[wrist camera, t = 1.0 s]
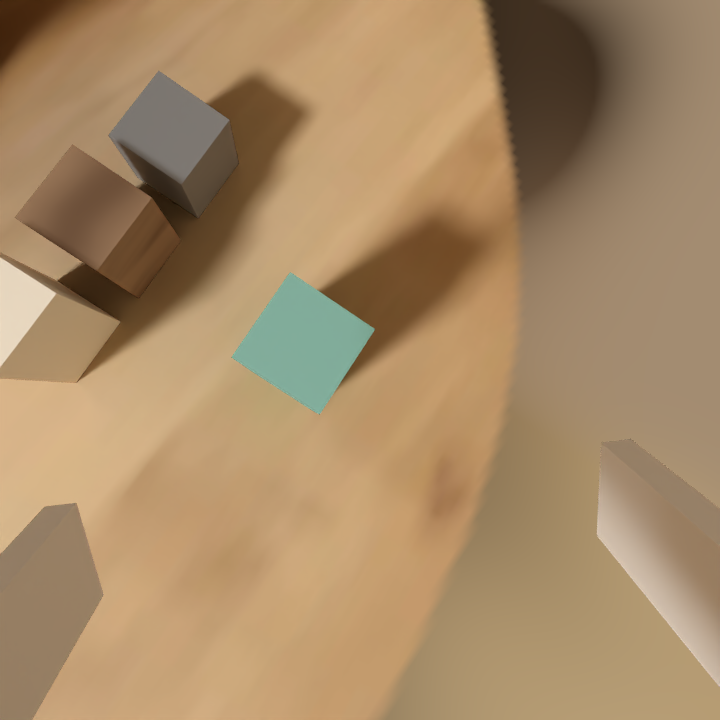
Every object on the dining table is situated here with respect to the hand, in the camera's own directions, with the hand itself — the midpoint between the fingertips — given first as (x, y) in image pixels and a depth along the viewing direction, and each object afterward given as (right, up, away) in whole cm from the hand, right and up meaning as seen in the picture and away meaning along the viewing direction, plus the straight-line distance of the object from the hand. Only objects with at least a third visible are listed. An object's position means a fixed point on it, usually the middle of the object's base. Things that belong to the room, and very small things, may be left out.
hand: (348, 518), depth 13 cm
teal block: (-4, +4, +24) cm, 25 cm away
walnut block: (-16, +12, +23) cm, 30 cm away
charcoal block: (-12, +17, +24) cm, 32 cm away
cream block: (-20, +6, +22) cm, 30 cm away
